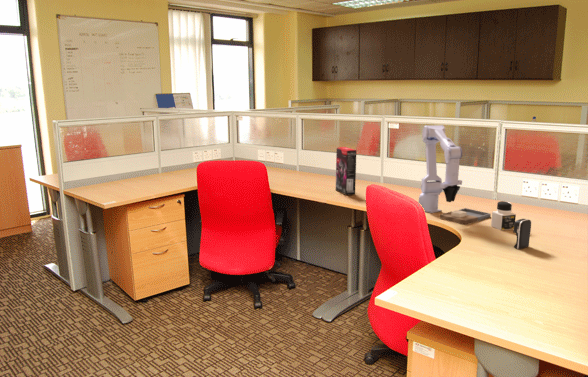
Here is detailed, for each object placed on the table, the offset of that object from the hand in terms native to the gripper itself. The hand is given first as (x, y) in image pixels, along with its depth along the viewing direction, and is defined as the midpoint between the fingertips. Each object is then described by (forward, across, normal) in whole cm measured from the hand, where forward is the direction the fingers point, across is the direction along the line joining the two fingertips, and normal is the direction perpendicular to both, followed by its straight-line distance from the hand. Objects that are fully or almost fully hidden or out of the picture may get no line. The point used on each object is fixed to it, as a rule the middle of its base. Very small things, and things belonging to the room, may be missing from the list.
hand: (450, 201), depth 218 cm
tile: (+8, +8, 0) cm, 12 cm away
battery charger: (+11, -8, -38) cm, 40 cm away
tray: (+10, +19, 0) cm, 22 cm away
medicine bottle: (+11, +12, -20) cm, 26 cm away
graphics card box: (+11, +9, +79) cm, 80 cm away
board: (+10, +8, 0) cm, 13 cm away
